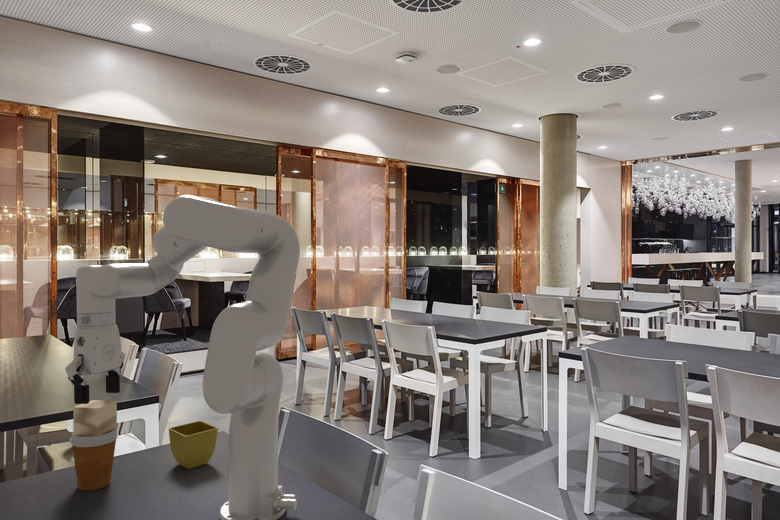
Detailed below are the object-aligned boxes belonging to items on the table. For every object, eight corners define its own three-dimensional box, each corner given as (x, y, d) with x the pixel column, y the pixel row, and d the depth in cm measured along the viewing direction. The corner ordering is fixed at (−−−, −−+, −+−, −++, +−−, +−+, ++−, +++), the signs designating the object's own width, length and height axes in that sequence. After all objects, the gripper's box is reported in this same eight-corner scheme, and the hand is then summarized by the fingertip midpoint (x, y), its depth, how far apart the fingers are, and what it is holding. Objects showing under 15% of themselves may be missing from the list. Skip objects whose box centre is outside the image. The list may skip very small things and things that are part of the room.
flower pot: (218, 463, 131) (219, 427, 131) (185, 474, 125) (185, 436, 125) (200, 455, 137) (200, 420, 137) (167, 464, 131) (167, 428, 131)
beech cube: (116, 427, 121) (116, 401, 121) (97, 436, 115) (97, 408, 115) (93, 426, 122) (93, 400, 122) (73, 434, 116) (73, 407, 116)
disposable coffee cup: (59, 488, 117) (60, 433, 117) (101, 473, 125) (101, 422, 125) (86, 497, 112) (87, 440, 112) (127, 481, 121) (128, 428, 121)
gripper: (83, 325, 110) (84, 408, 109) (136, 316, 127) (138, 389, 126) (50, 325, 111) (52, 408, 111) (108, 317, 128) (109, 388, 128)
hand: (98, 397), depth 119 cm, fingers open, 9 cm apart
